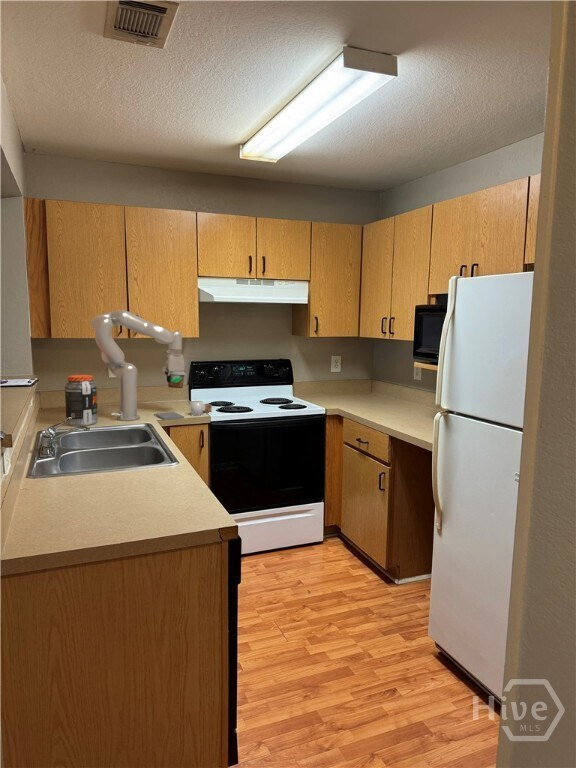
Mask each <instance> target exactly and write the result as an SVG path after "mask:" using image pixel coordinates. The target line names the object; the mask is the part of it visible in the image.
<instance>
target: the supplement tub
mask: <svg viewBox="0 0 576 768" xmlns="http://www.w3.org/2000/svg"><path fill="white" fill-rule="evenodd" d="M97 388H98V387H97V384H96V383H95V382H94V375H92V374H91V375H90V374H72V375H68V376H67V383H66V384H65V386H64V395H65V396H64V399H65V401H64V402H65V403H64V404H65V420H66V419H67V418H68V417H73V418H72V419H70V420H69V421H68V422H66V424H67V425H68V426H74V427H85V426H91V425H95V424H97V423H98V420H99V416H98V391H97V390H98V389H97Z"/></svg>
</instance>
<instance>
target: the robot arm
mask: <svg viewBox="0 0 576 768" xmlns="http://www.w3.org/2000/svg"><path fill="white" fill-rule="evenodd" d="M90 326H91V328H92V329H93V330H94V339H95V342H96V344H97V347H98V348H99V350H100V351H101V355H100V356H101V359H102V361H103V362H104V364H105V365H106V367H107V368H108V369H109V371H110V372H111V373H112V374H113V376H115V377H116V378H118V379H119V383H118V403H119V404H118V405H119V407H118V408H119V409H118V410H117V412H110V417H116V420H117V421H125V422H127V421H128V422H129V421H131V422H132V421H137V420H140V419H141V415H138V399H137V398H138V393H137V388H138V387H137V382H138V374H139V373H138V368H137V367H136V366H135V365H134V364H133V363H131V362H126V361H125V354H124V352H123V351H122V349H121V348H120V347H119V345H118V344H117V342H115V340H114V338H113V336H112V330H113V328H114V327H117V326H121V327H123V328H126V329H129V330H131V331H132V332H135V333H137V334H138V335H142V336H147V337H150V338H154V340H155V342H157V343H158V344H162V345H168V349H167V350H165V351H166V353H168V354H167V356H166V362H165V366H163V368H161V371H162V372H163V373H164V375H165V376H166V382H167V383H170V373H171V372H174V371H183V372H185V374H186V372H187V371H188V370H189V369H188V368H187V366H185V359H184V354H183V353H182V352H183V351H182V350H183V346H182V345H183V335H182V334H183V333H182V332H181V331H172V330H168V329H167V328H165V327H164V326H160V325H158V324H155V323H153V322H151V321H148V320H146V319H144V318H142V317H140V316H138V315H136V314H134V313H132V312H131V311H128V310H126V309H117V310H112V311H109V312H105V313H102V314H100V315H96V316H94V317H92V319H91V321H90Z"/></svg>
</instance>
